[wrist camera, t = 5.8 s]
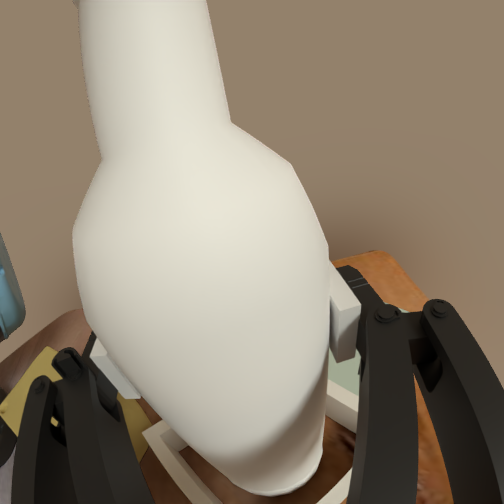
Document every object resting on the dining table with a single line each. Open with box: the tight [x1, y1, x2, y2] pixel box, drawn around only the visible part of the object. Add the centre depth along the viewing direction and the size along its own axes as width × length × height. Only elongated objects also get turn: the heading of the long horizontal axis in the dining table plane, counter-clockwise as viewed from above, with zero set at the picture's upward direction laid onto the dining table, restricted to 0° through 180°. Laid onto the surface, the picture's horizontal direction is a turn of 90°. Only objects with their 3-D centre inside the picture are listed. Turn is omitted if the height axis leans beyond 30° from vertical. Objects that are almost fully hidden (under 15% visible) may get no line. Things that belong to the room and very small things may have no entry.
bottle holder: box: [142, 379, 359, 504], centre depth 16 cm, size 14×14×4 cm
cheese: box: [0, 346, 153, 463], centre depth 16 cm, size 10×11×10 cm
